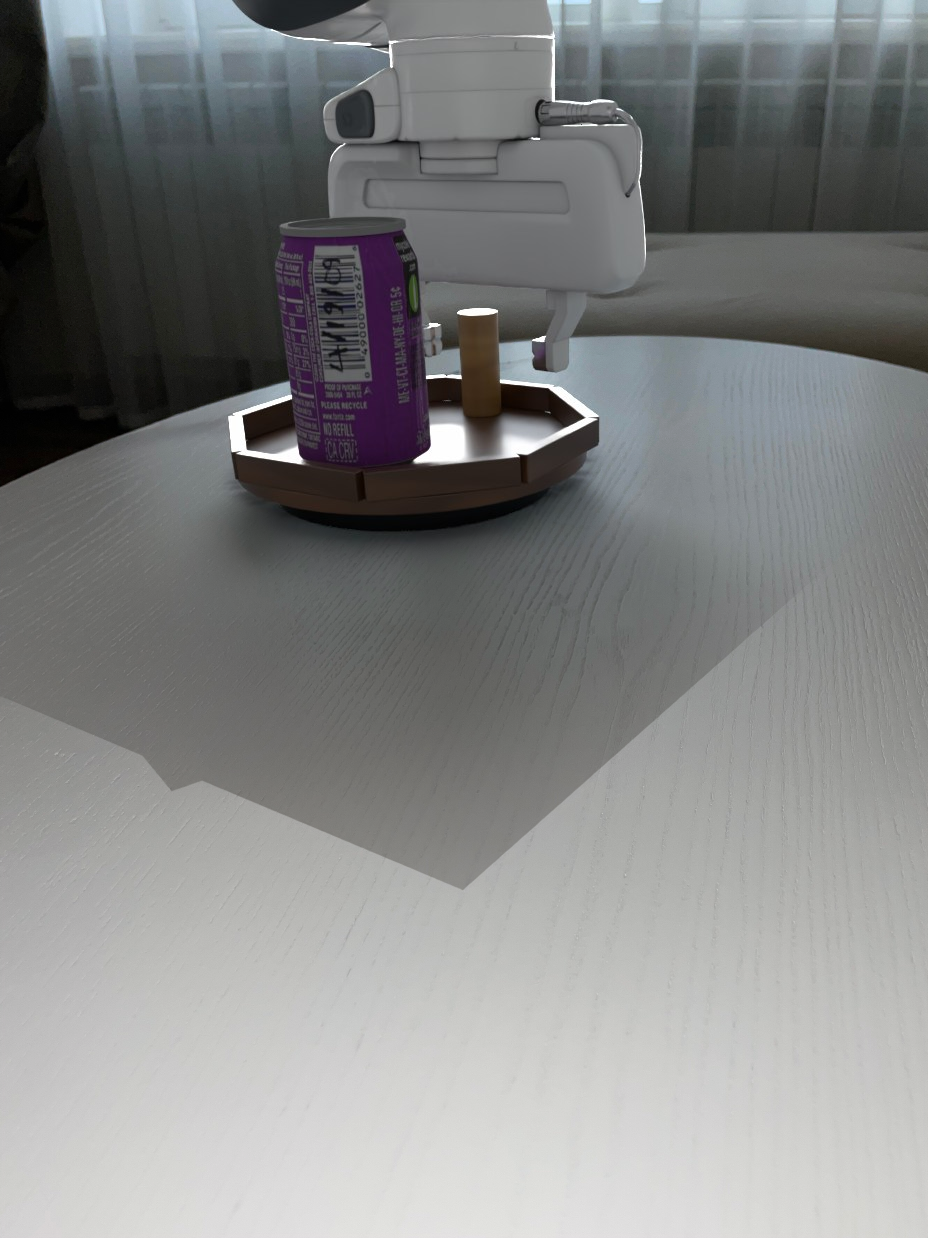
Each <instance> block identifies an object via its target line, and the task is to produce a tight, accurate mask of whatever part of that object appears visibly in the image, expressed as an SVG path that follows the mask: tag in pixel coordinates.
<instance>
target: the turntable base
mask: <svg viewBox="0 0 928 1238" xmlns="http://www.w3.org/2000/svg"><path fill="white" fill-rule="evenodd" d="M551 488H552V487H550V488H547V489H545V490H542V491H540V492H537V493H534V494H531V495H527V496H524V497H521V498H517V499H513V500H509V501H505V502H501V503H496V504H492V505H486V506H481V507H475V508H469V509H462V510H454V511H447V512H436V513H425V514H407V515H351V514H336V513H325V512H317V511H310V510H303V509H298V508H293V507H289V506H284V505H280V504H278V505H279V507H280V508H281V509H282V510H283V511H285V512H286V513H288V514H289V515H291V516H293V517H294V518H297V519H300V520H301V521H305V522H307V523H310V524H314V525H318V526H323V527H327V528H333V529H339V530H350V531H356V532H374V533H378V532H379V533H404V532H405V533H406V532H422V531H432V530H433V531H434V530H443V529H444V530H445V529H451V528H457V527H458V528H459V527H464V526H469V525H475V524H480V523H483V522H488V521H492V520H496V519H499V518H503V517H506V516H509V515H512V514H514V513H517V512H519V511H522V510H523V509H526V508H528V507H530V506H532V505H534V504H536V503H537V502H539V501H540V500H542V498H544V497H545V496H546V495H547V494H548V493H549V491H550V490H551Z"/></svg>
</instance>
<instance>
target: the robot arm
mask: <svg viewBox="0 0 928 1238" xmlns="http://www.w3.org/2000/svg"><path fill="white" fill-rule="evenodd" d="M231 1H232V3H233V4H234V5H235V6H236V7H237V8H238V9H239V11H240V12H241V13H243V14H244V16H246V17H247V18H248V19H250V21H252V22H254V23H256V24H257V25H259V26H261V27H263V28H266V29H269V30H271V31H274V32H276V33H278V34H281V35H283V36H287V37H292V38H296V39H302V40H313V41H320V42H323V43H324V42H325V43H329V44H330V43H332V44H343V45H344V44H345V45H359V46H362V47H365V48H368V49H372V50H375V51H379V52H382V53H386V54H389V58H390V60H389V61H390V66H389V67H385V68H383V69H381V70H379V71H378V72H376V73H375V74H373V75H372V76H370V77H368V78H367V79H366V80H364V81H362V82H360V83H358V84H357V85H354V86H353V87H351V88H349V89H347V90H345V91H344V92H341V93H340V94H338V95H336V96H334V97H333V98H331V99H330V100H328V101H327V102H326V103H325V105H324V108H323V115H322V116H323V125H324V131H325V134H326V136H327V139H328V140H329V141H330V142H332V143H334V144H339V145H340V144H341V145H340V146H338V147H337V148H336V149H335V150H334V151H333V153H332V154H331V157H330V160H329V163H328V169H327V196H328V199H327V200H328V210H329V211H328V212H329V214H328V215H329V218H338V217H394V218H401V219H404V220H405V221H406V228H405V229H403V231H404V233H405V235H406V237H407V239H408V241H409V243H410V245H411V247H412V249H413V251H414V253H415V255H416V257H417V260H418V270H419V284H420V296H421V295H425V294H426V293H427V285H426V282H429V283H441V284H443V283H444V284H455V285H456V284H457V285H469V286H470V285H471V286H483V287H484V286H485V287H495V288H496V287H497V288H498V287H499V288H510V289H525V290H527V289H528V290H540V291H545V302H546V303H545V305H546V307H545V308H546V309H547V311H549V312H554V315H553V317H552V318H551V321H550V324H549V326H548V328H547V330H546V334H545V335H544V336H541V337H539V338H535V339H532V340H531V353H532V354H533V358H532V359H531V360H532V362H531V363H532V369H534V370H535V371H540V372H545V373H556V374H557V373H559V372H562V371H565V370H567V369H568V367H569V364H570V338H571V337H572V336H573V334H574V332H575V330H576V328H577V326H578V325H579V323H580V320H581V318H582V317H583V315H584V313H585V311H586V309H587V305H588V304H587V303H588V301H587V299H588V298H587V294H592V295H594V294H595V295H609V294H614V293H617V292H621V291H624V290H628V289H631V288H632V287H633V286H634V285H635V284H636V283H637V282H638V280H639V278H640V277H641V275H642V274H643V273H644V270H645V267H646V255H647V254H646V233H645V231H646V230H645V218H644V207H643V199H642V190H641V185H640V184H641V183H640V178H641V175H642V169H643V167H642V166H643V136H642V131H641V128H640V127H639V126H638V124H637V122H636V121H635V119H634V118H633V116H631V115H630V114H629V113H628V112H626V111H625V110H623V109H622V108H619V104H618V103H617V102H616V101H613V100H609V99H596V100H592V101H591V102H590V101H587V102H583V101H582V102H579V101H571V100H556V99H555V98H556V97H555V90H556V89H555V88H556V87H555V86H556V85H555V77H556V76H555V39H554V38H555V33H554V25H553V24H554V23H553V20H552V17H551V13H550V9H549V5H548V0H231ZM618 119H620V120H622V121H623V122H624V123H625V124H615V123H616V122H617V121H618ZM581 124H582V125H581ZM421 311H422V325H423V339H424V352H425V358H432V357H436V356H439V355H441V353H442V352H443V341H442V340H441V339H442V336H443V335H442V334H443V333H442V324H438V323H432V322H431V319H430V317H429V315H428V311H427V310H426V308H425V305H424V303H423V300H422V299H421Z"/></svg>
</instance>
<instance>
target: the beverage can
mask: <svg viewBox="0 0 928 1238" xmlns="http://www.w3.org/2000/svg"><path fill="white" fill-rule="evenodd" d="M278 226H279V228H278V229H279V234H280V235H282V236H283V237H282V240H281V244H280V247H279V251H278V254H277V257H276V260H275V264H274V272H275V279H276V289H277V295H278V302H279V311H280V318H281V327H282V333H283V342H284V349H285V355H286V356H285V357H286V358H285V359H286V364H287V372H288V380H289V381H288V382H289V389H290V395H291V396H292V404H293V412H294V420H295V427H296V435H297V443H298V451H299V456H300V457H301V458H302V459H304V460H310V461H317V462H323V463H329V464H336V465H342V466H349V467H355V468H361V469H366V468H376V467H385V466H395V465H405V464H410V463H411V462H412V461H413V460H415V459H416V458H418V457H420V456H421V455H423V454H424V453H426V452H427V451H428V450H429V449H430V447H431V435H430V421H429V407H428V394H427V380H426V376H427V369H426V367H427V366H426V357H425V352H424V339H423V325H422V311H421V300H422V298H421V295H420V284H419V270H418V260H417V257H416V255H415V253H414V251H413V249H412V247H411V245H410V243H409V241H408V239H407V237H406V235H405V233H404V231H403V229H405V228H406V221H405V220H404V219H401V218H394V217H338V218H330V217H324V218H312V219H303V220H294V221H289V222H284V223H282V224H280V225H278Z"/></svg>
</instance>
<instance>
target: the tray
mask: <svg viewBox="0 0 928 1238" xmlns="http://www.w3.org/2000/svg"><path fill="white" fill-rule="evenodd" d="M457 328H458V329H457V330H458V331H457V332H458V345H459V346H458V347H459V348H458V349H459V364H460V365H459V366H460V367H459V368H460V375H459V374H458V375H456V374H450V375H447V376H446V375H445V374H435V375H426V380H427V394H428V407H429V421H430V435H431V447H430V449H429V450H428V451H427V452H426V453H424V454H423V455H421V456H420V457H418V458H416V459H415V460H413V461H412V462H411V463H410V464H405V465H395V466H385V467H376V468H366V469H361V468H355V467H349V466H342V465H336V464H329V463H323V462H317V461H310V460H304V459H302V458H301V457H300V456H299V451H298V443H297V435H296V427H295V420H294V412H293V404H292V396H291V394H290V395H286V396H283V397H281V398H278V399H274V400H271V401H268V402H266V403H261V404H259V405H256V406H252V407H249V408H247V409H244V410H241V411H237V412H234V413H232V414H230V415H229V416H227V422H228V434H229V435H228V436H229V447H230V455H231V462H232V467H233V475H234V479H235V480H236V481H237V482H238V483H239V484H240V486H241V487H242V488H243V489H244V490H245V491H247V492H249V493H250V494H251V495H254V496H256V497H258V498H260V499H262V500H264V501H267V502H270V503H274V504H276V505H279V504H280V505H284V506H289V507H293V508H298V509H303V510H310V511H317V512H325V513H336V514H351V515H407V514H425V513H436V512H447V511H454V510H462V509H469V508H475V507H481V506H486V505H492V504H496V503H501V502H505V501H509V500H513V499H517V498H521V497H524V496H527V495H531V494H534V493H537V492H540V491H542V490H545V489H547V488H550V487H551V488H552V487H554V486H557V485H558V484H561V483H562V482H564V481H566V480H568V479H569V478H571V477H572V476H574V475H575V474H576V473H578V471H579V470H580V469H581V468H582V467H583V466H584V464H585V463H586V460H587V456H588V455H587V454H588V452H589V451H591V450H592V449H594V448H596V447H598V446H599V443H600V417H599V415H598V414H596V413H595V412H594V411H593V410H591V409H590V408H588V407H587V406H586V405H585V404H583V403H582V402H581V401H579V400H578V399H577V398H575V397H574V396H573V395H571V393H569V392H567V391H566V390H565V389H564V388H562V386H556V385H553V384H545V383H544V384H543V383H535V382H534V383H533V382H525V381H515V380H507V379H501V362H500V341H499V340H500V339H499V337H500V335H499V314H498V310H497V309H494V308H469V309H462V310H459V311H458V312H457ZM551 488H550V489H551ZM280 505H279V506H280Z"/></svg>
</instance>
